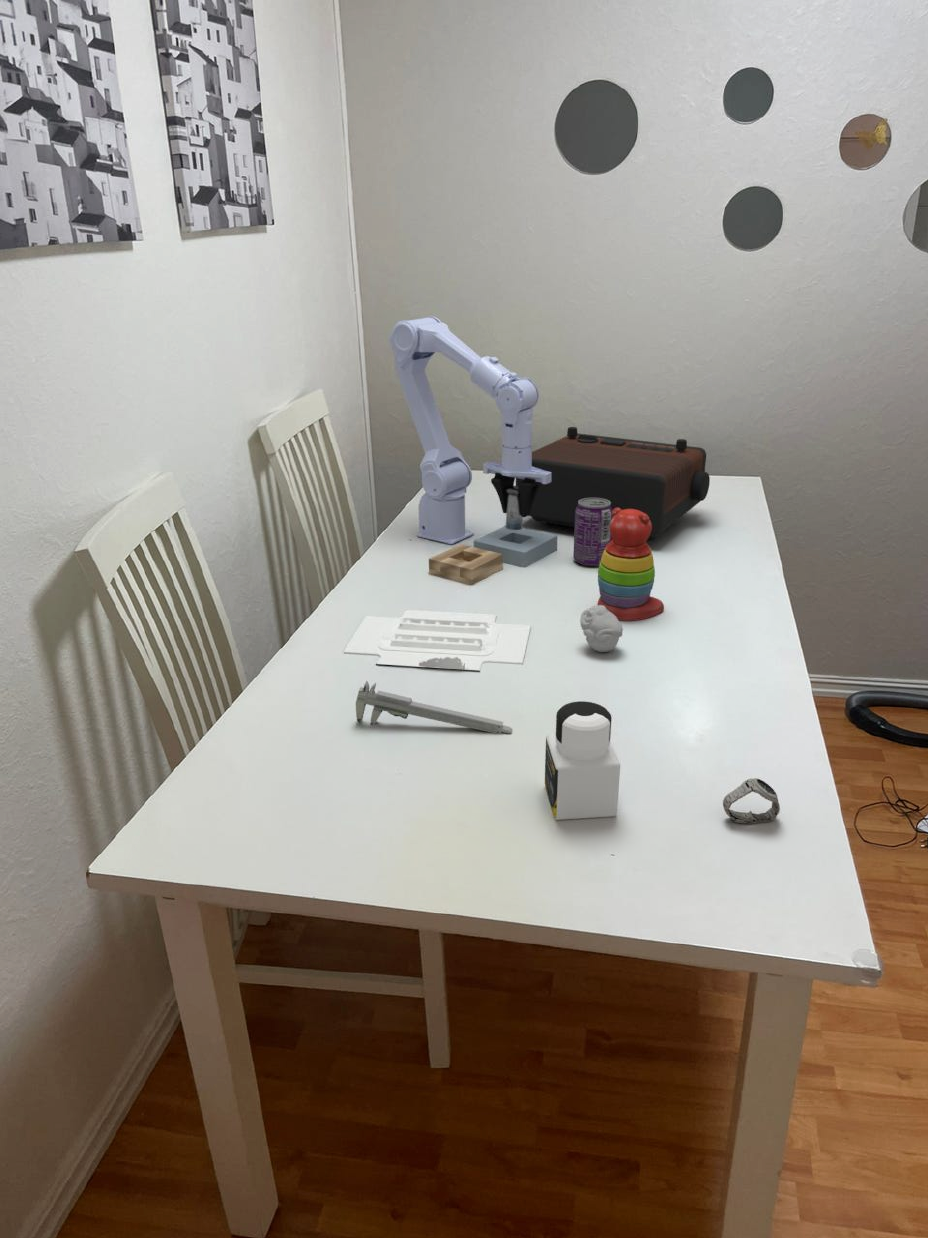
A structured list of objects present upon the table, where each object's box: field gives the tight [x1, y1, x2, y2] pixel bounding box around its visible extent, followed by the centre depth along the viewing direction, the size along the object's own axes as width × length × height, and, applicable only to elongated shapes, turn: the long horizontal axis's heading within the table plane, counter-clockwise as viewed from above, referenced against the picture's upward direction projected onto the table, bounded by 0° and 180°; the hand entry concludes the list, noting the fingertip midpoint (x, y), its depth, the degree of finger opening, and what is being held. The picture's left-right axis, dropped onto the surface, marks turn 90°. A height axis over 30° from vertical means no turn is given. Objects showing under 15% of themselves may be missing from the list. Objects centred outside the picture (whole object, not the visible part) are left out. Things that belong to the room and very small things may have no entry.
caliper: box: [355, 680, 513, 735], centre depth 117 cm, size 21×1×6 cm, turn 82°
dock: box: [473, 525, 558, 568], centre depth 179 cm, size 12×12×3 cm
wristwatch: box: [722, 777, 781, 826], centre depth 99 cm, size 4×6×5 cm, turn 95°
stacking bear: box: [596, 508, 665, 621], centre depth 149 cm, size 11×10×18 cm
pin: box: [505, 485, 524, 530], centre depth 175 cm, size 4×4×8 cm
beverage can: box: [572, 498, 613, 567], centre depth 171 cm, size 7×7×12 cm
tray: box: [343, 609, 532, 672], centre depth 143 cm, size 20×28×4 cm
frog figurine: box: [579, 604, 624, 653], centre depth 137 cm, size 6×7×7 cm
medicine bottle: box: [544, 700, 621, 821], centre depth 101 cm, size 7×7×12 cm
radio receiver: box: [515, 426, 711, 541], centre depth 192 cm, size 35×27×18 cm
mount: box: [428, 543, 504, 586], centre depth 169 cm, size 10×10×3 cm
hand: (516, 513), depth 176 cm, fingers closed on pin, 4 cm apart
